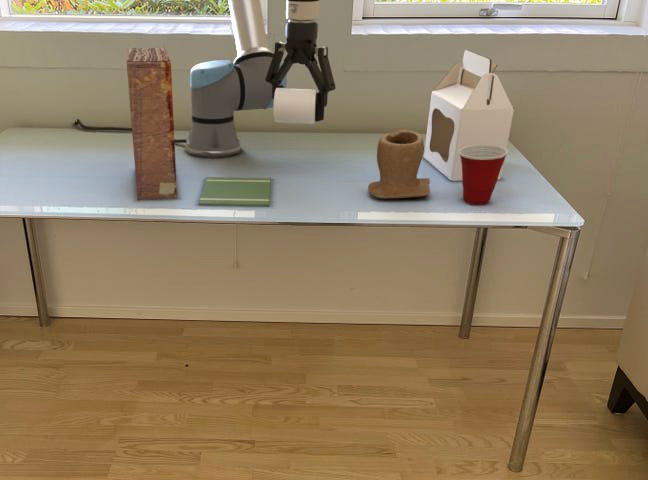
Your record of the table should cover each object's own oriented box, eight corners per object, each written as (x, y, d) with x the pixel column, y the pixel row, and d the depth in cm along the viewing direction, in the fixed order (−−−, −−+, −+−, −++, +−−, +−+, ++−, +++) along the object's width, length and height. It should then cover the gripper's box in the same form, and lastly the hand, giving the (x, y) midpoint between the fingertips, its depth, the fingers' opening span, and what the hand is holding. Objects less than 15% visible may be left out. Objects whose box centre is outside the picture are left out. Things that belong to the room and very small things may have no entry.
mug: (313, 127, 175) (315, 93, 171) (272, 125, 177) (273, 91, 172) (318, 116, 185) (320, 83, 181) (279, 114, 187) (280, 81, 182)
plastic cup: (445, 194, 172) (452, 143, 166) (489, 193, 173) (497, 142, 167) (459, 209, 163) (468, 156, 157) (506, 208, 164) (516, 155, 158)
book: (136, 169, 189) (126, 45, 173) (172, 168, 190) (165, 44, 174) (137, 201, 167) (126, 62, 152) (177, 199, 168) (170, 61, 153)
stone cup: (374, 205, 165) (380, 138, 158) (364, 189, 175) (369, 126, 168) (439, 204, 166) (448, 138, 158) (425, 188, 176) (433, 125, 169)
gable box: (501, 180, 182) (523, 61, 168) (451, 181, 181) (468, 62, 167) (468, 156, 201) (485, 47, 187) (422, 157, 200) (436, 48, 186)
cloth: (198, 205, 165) (198, 202, 165) (207, 178, 182) (206, 176, 182) (269, 206, 164) (269, 204, 164) (270, 179, 182) (270, 177, 181)
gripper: (251, 18, 173) (251, 112, 184) (336, 26, 160) (330, 126, 171) (270, 15, 178) (269, 107, 189) (354, 23, 165) (347, 121, 176)
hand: (298, 116), depth 180 cm, fingers closed on mug, 12 cm apart
